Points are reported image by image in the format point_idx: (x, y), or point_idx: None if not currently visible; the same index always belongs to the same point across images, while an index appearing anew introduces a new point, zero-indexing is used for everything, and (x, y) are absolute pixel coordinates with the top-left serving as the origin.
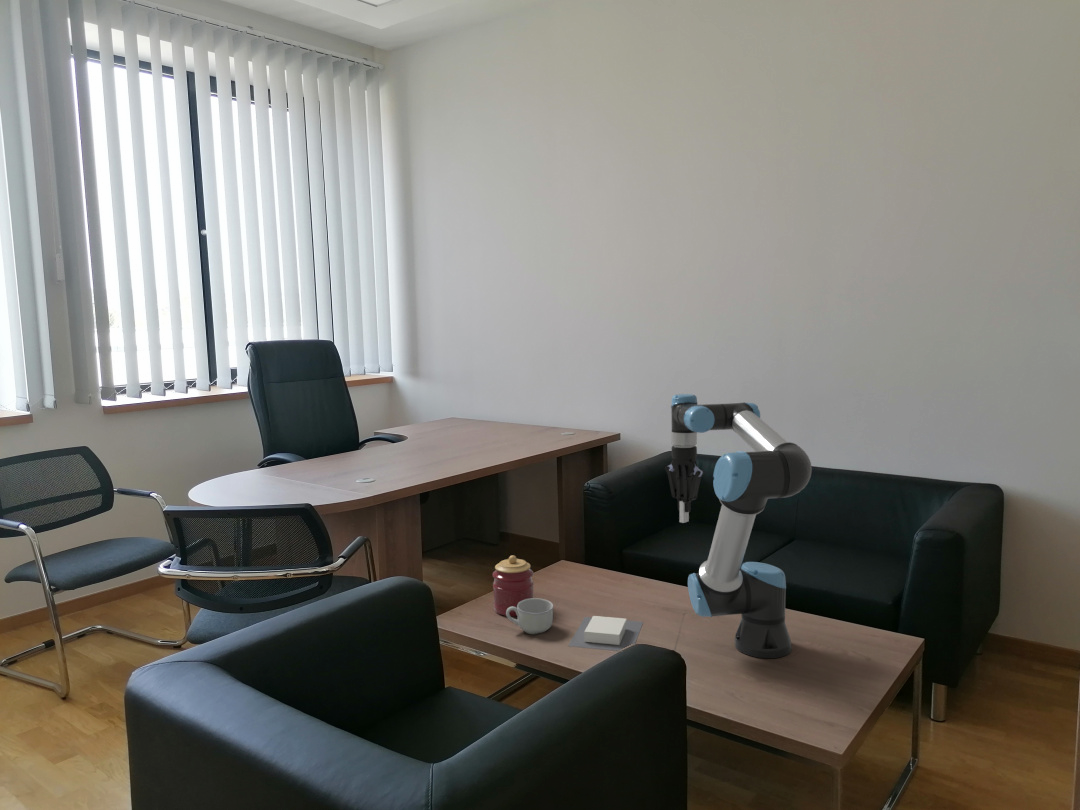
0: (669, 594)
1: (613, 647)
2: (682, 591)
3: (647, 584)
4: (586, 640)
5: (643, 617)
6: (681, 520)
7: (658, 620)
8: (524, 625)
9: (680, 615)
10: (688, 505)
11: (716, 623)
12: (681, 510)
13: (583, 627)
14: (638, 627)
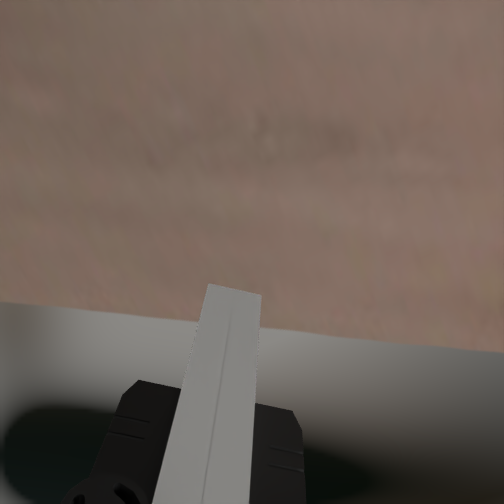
0: (372, 267)
1: None
2: (340, 308)
3: (471, 316)
4: None
5: (392, 6)
6: (233, 303)
7: (325, 7)
8: None
9: (268, 103)
10: (95, 469)
11: (126, 94)
12: (220, 386)
13: None
14: None
